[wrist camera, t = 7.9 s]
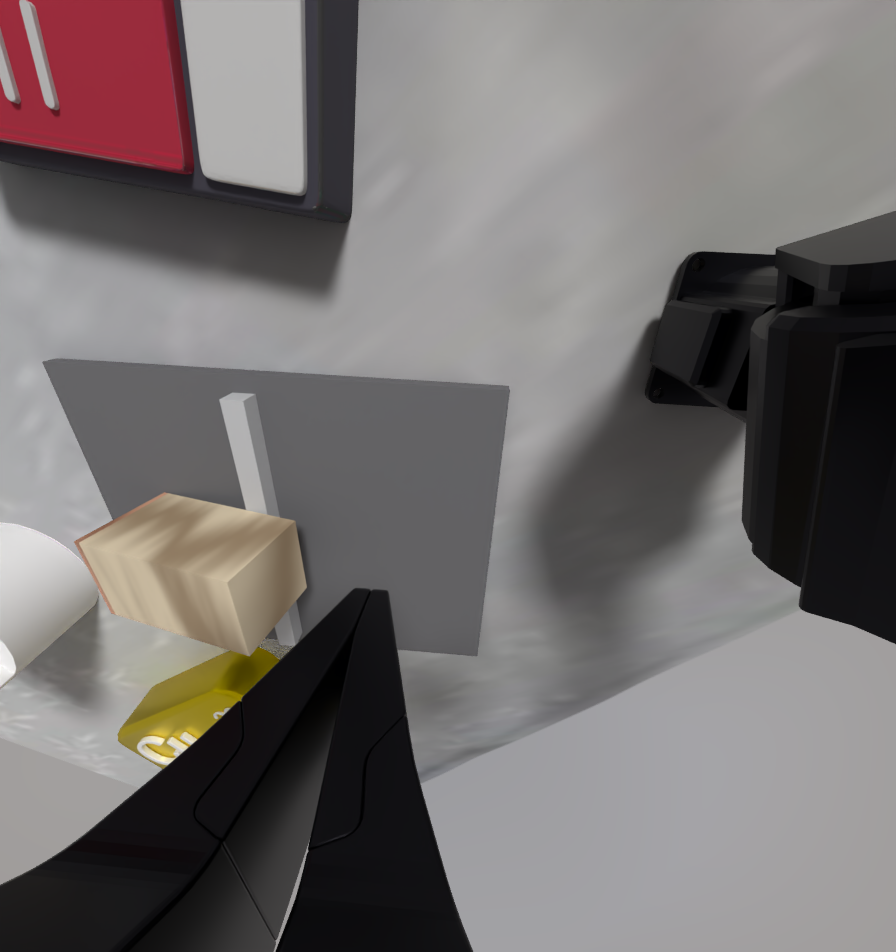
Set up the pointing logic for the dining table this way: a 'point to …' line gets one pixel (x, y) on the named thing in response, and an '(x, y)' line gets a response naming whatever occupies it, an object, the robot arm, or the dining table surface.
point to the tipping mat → (315, 476)
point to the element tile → (191, 704)
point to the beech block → (198, 569)
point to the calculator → (187, 97)
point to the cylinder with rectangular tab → (37, 595)
